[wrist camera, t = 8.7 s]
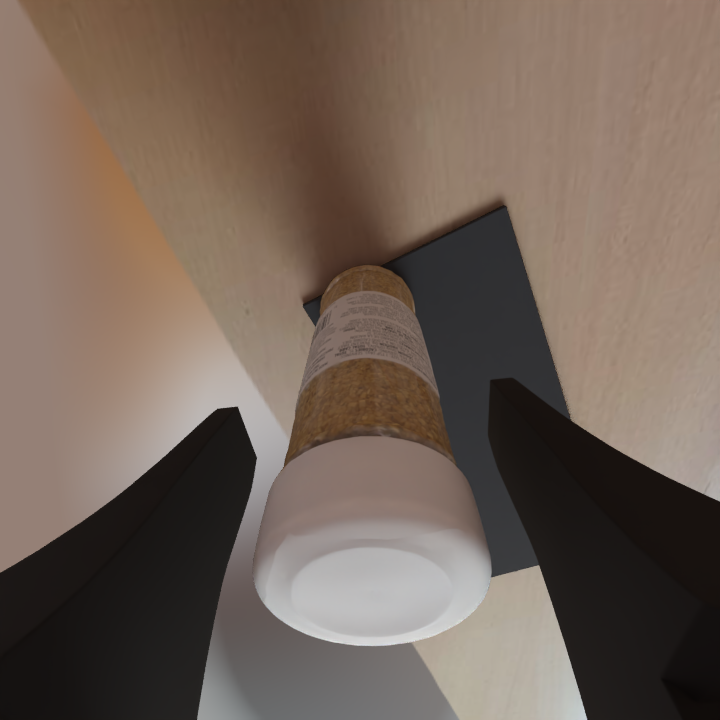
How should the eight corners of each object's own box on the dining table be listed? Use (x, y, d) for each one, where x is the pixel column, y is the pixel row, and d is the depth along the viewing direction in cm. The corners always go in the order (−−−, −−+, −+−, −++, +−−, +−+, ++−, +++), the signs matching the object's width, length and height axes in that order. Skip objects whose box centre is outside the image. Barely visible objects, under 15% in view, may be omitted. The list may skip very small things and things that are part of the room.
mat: (303, 304, 19) (302, 306, 19) (504, 204, 16) (506, 206, 16) (475, 577, 31) (475, 581, 30) (607, 543, 28) (609, 547, 28)
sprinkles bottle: (376, 364, 20) (391, 675, 9) (302, 316, 19) (203, 610, 7) (435, 297, 18) (553, 584, 7) (356, 240, 17) (339, 474, 5)
